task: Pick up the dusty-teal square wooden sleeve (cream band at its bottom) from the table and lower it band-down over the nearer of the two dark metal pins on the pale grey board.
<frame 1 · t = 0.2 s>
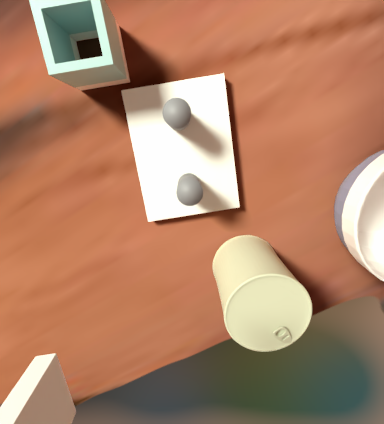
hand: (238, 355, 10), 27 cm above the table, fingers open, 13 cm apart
can: (244, 264, 39), on the table
bowl: (370, 199, 37), on the table
sleeve: (99, 59, 32), on the table
pinboard: (183, 151, 35), on the table
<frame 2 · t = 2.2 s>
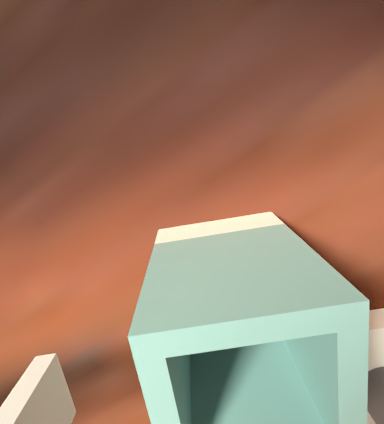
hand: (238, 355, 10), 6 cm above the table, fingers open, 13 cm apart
sleeve: (221, 271, 15), on the table
pinboard: (363, 412, 18), on the table
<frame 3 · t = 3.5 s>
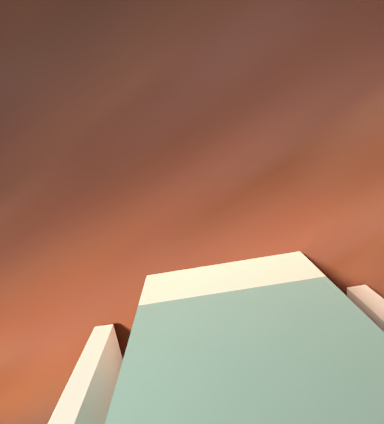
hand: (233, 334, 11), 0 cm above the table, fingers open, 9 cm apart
sleeve: (232, 329, 11), on the table
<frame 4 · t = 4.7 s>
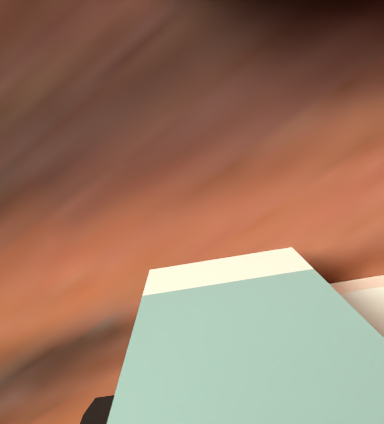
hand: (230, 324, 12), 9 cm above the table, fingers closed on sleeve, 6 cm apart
sleeve: (229, 320, 12), point 9 cm above the table, touching gripper
pinboard: (321, 369, 24), on the table
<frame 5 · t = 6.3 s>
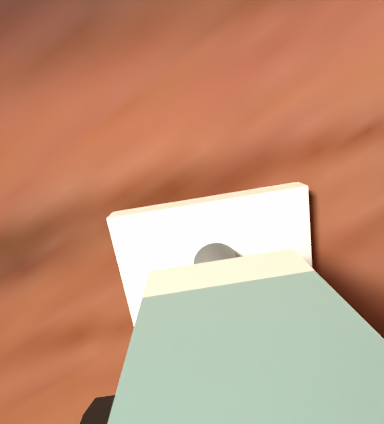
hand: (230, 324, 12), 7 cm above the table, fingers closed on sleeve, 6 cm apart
sleeve: (229, 321, 12), point 7 cm above the table, touching gripper
pinboard: (221, 304, 20), on the table
when the fingers open (2 cm above the table, at t = 8.0 s): sleeve stays where it is, resting on pinboard.
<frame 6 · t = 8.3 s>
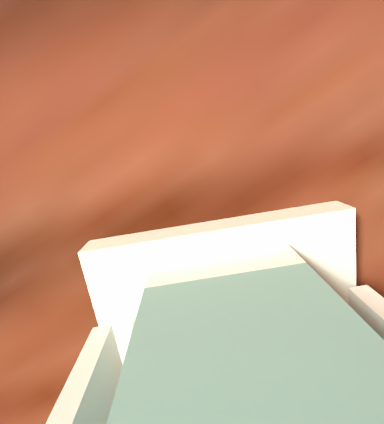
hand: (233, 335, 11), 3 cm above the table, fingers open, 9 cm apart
sleeve: (227, 312, 13), point 1 cm above the table, touching pinboard
pinboard: (232, 357, 15), on the table
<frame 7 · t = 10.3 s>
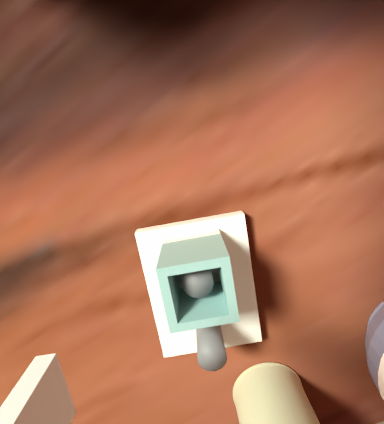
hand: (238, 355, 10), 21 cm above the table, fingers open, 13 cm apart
can: (266, 389, 37), on the table
sleeve: (195, 258, 30), point 1 cm above the table, touching pinboard
pinboard: (201, 283, 33), on the table
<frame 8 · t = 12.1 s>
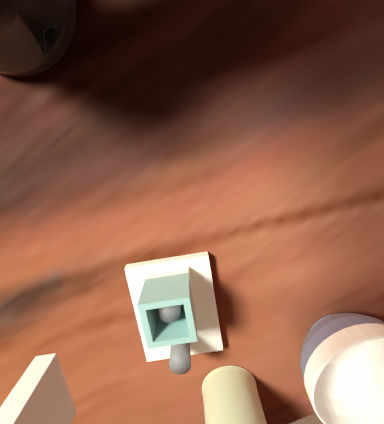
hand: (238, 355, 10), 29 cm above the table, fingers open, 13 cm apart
can: (228, 386, 46), on the table
bowl: (333, 336, 44), on the table
sleeve: (171, 287, 40), point 1 cm above the table, touching pinboard
pinboard: (176, 305, 42), on the table
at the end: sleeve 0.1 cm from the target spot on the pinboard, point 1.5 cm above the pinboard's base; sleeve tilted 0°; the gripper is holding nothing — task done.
